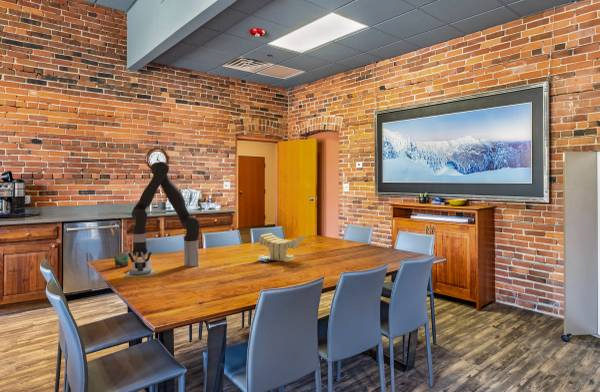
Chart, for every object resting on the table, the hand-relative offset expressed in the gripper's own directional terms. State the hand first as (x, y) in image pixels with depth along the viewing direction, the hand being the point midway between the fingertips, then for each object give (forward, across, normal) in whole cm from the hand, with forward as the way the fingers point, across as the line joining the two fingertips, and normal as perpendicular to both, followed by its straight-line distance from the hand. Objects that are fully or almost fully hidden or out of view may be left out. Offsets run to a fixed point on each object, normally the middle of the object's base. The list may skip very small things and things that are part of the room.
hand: (140, 268), depth 228 cm
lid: (+2, 0, 0) cm, 2 cm away
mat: (+4, 0, 0) cm, 4 cm away
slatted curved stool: (+4, -94, -18) cm, 96 cm away
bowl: (+4, +1, -13) cm, 14 cm away
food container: (+4, +14, -24) cm, 28 cm away
